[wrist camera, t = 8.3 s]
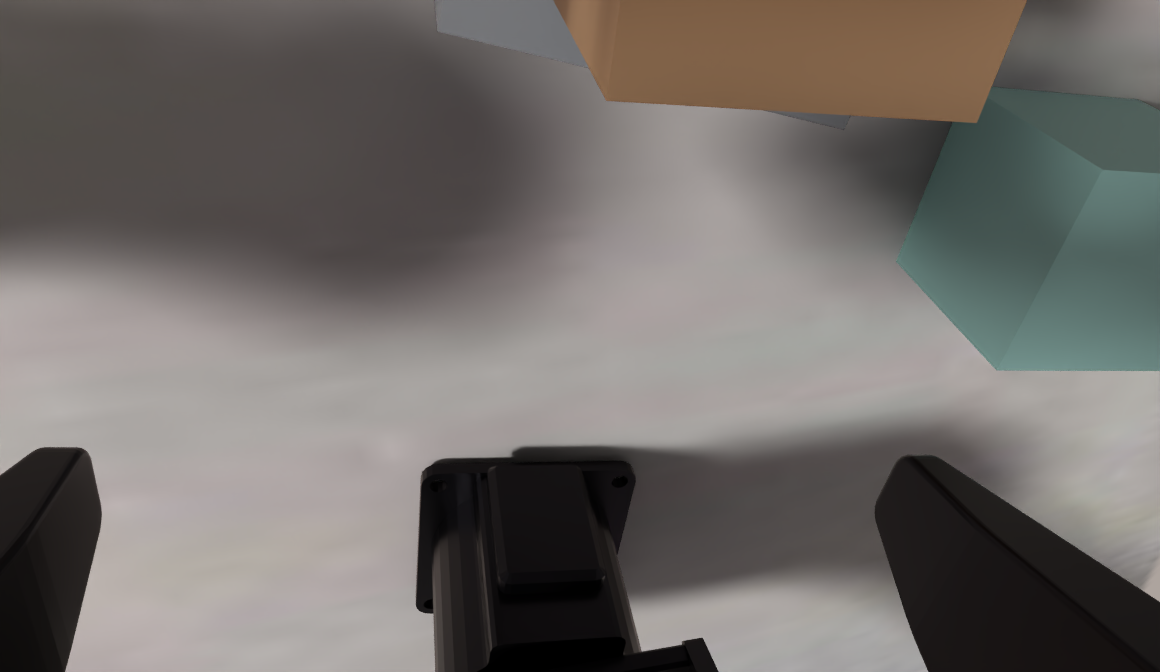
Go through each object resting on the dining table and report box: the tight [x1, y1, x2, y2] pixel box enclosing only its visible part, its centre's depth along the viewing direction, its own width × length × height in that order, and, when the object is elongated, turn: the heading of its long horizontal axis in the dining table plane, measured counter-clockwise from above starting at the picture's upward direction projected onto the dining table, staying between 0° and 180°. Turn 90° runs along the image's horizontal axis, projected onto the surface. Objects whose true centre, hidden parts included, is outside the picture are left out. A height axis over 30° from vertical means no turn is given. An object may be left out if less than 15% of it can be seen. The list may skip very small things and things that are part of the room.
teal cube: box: [896, 87, 1160, 371], centre depth 20 cm, size 5×5×5 cm
